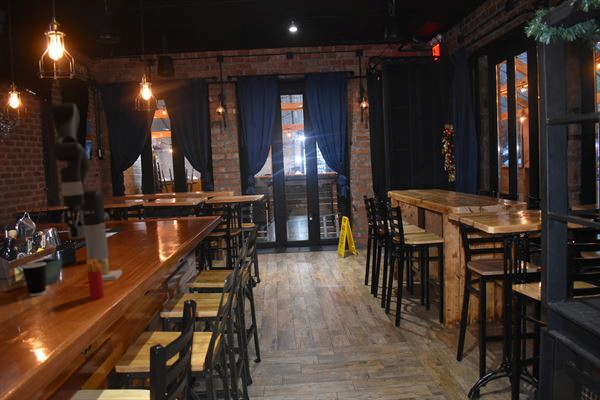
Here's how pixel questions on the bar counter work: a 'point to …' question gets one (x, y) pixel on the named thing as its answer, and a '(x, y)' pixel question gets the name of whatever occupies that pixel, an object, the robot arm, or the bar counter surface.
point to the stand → (109, 274)
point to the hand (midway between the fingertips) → (77, 235)
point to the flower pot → (51, 269)
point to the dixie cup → (35, 278)
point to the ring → (80, 230)
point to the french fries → (95, 279)
